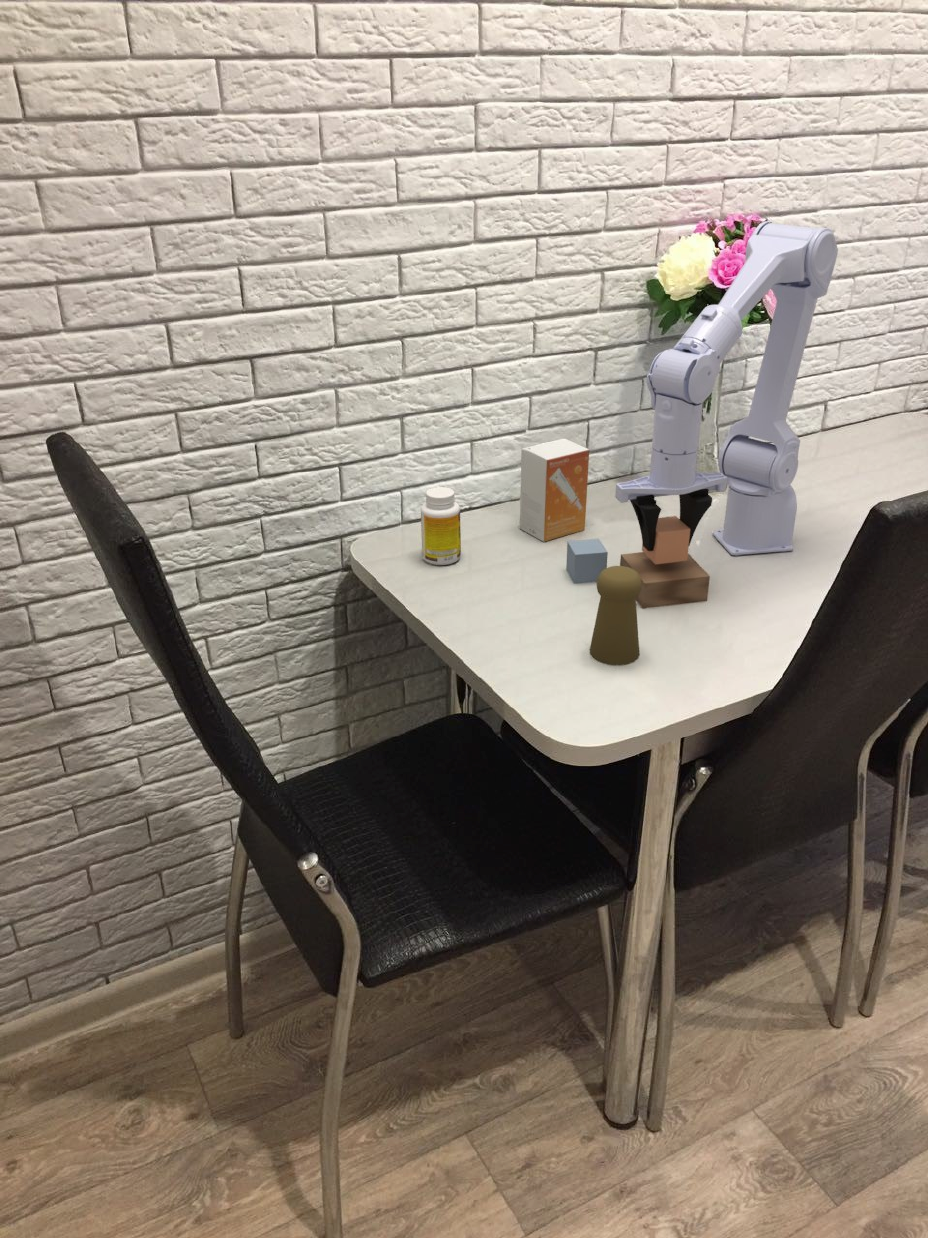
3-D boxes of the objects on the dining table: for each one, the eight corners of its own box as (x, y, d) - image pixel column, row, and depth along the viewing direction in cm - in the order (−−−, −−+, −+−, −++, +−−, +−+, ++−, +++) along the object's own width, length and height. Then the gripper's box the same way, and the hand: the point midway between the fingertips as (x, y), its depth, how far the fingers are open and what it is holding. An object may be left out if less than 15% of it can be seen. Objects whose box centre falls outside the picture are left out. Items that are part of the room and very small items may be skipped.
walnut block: (680, 573, 144) (682, 547, 142) (706, 603, 137) (709, 576, 135) (618, 580, 143) (620, 554, 141) (642, 610, 135) (644, 583, 133)
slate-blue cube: (597, 567, 146) (598, 538, 144) (605, 581, 142) (607, 552, 140) (566, 570, 145) (567, 540, 143) (574, 584, 141) (575, 554, 139)
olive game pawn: (585, 641, 128) (589, 560, 122) (633, 638, 128) (639, 558, 123) (594, 666, 122) (599, 583, 117) (644, 664, 123) (651, 581, 117)
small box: (544, 543, 153) (546, 459, 147) (518, 529, 158) (519, 447, 151) (586, 530, 157) (590, 448, 151) (560, 516, 162) (563, 436, 155)
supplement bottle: (466, 563, 147) (465, 496, 142) (429, 569, 146) (427, 502, 141) (453, 547, 152) (452, 482, 147) (417, 553, 150) (415, 487, 145)
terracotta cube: (672, 546, 140) (675, 515, 138) (687, 560, 136) (690, 529, 134) (641, 550, 139) (644, 519, 137) (655, 564, 135) (658, 532, 133)
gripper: (713, 432, 135) (703, 527, 141) (609, 442, 132) (603, 539, 138) (739, 449, 129) (727, 548, 135) (630, 461, 126) (623, 561, 132)
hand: (666, 545), depth 136 cm, fingers closed on terracotta cube, 4 cm apart
